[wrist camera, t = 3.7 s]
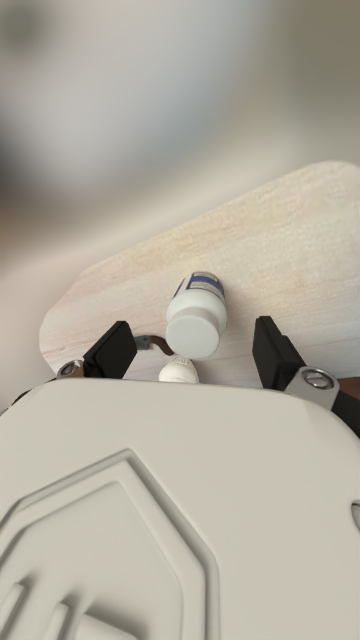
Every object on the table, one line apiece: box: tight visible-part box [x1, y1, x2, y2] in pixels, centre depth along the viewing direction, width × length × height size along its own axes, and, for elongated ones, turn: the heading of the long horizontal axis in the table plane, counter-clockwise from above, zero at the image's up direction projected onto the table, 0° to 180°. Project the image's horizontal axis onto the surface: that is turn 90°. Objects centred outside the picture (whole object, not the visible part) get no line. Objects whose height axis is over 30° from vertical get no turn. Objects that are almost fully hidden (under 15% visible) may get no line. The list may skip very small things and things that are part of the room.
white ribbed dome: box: [159, 356, 199, 383], centre depth 24 cm, size 6×6×7 cm
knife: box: [133, 335, 174, 356], centre depth 26 cm, size 14×4×1 cm, turn 100°
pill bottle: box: [165, 271, 227, 359], centre depth 15 cm, size 5×5×10 cm
